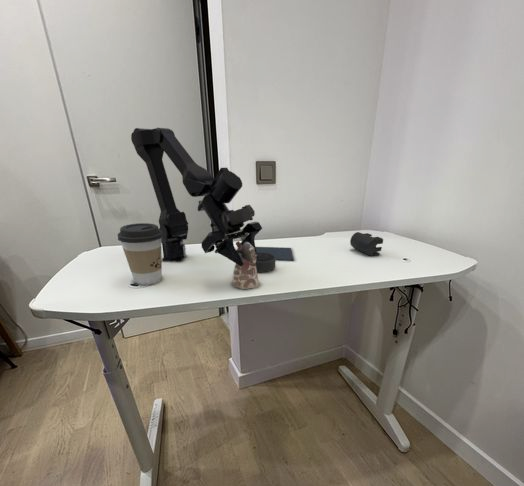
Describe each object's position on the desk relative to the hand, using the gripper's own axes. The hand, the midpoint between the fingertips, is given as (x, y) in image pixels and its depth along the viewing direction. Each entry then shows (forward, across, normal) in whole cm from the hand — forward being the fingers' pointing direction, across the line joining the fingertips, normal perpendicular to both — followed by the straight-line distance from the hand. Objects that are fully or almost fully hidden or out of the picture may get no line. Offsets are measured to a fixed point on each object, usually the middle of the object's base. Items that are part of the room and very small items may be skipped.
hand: (249, 262), depth 78 cm
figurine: (+4, 0, +6) cm, 7 cm away
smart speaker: (+1, +13, +9) cm, 16 cm away
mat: (-5, +25, +15) cm, 30 cm away
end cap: (+14, +52, -4) cm, 54 cm away
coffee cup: (-12, -16, +22) cm, 30 cm away
